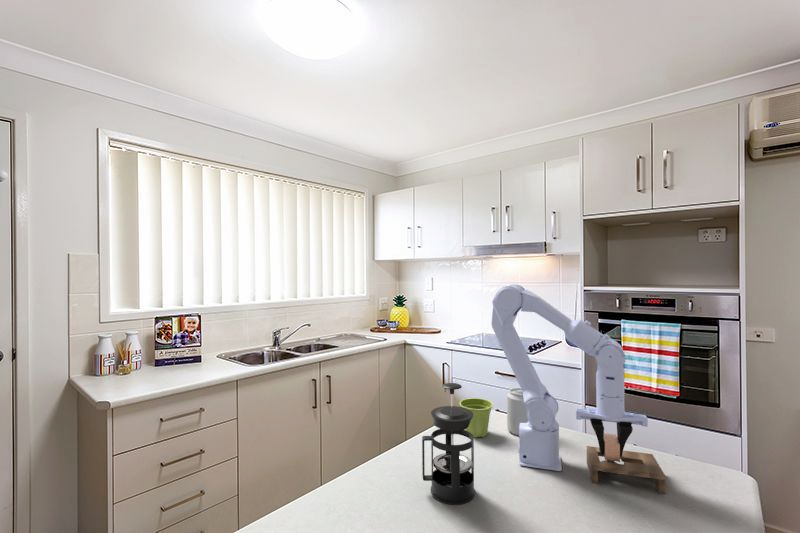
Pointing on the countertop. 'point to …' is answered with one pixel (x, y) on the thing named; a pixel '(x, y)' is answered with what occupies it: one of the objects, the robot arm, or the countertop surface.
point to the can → (516, 410)
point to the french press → (451, 454)
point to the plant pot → (478, 415)
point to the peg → (611, 449)
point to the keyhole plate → (627, 466)
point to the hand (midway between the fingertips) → (610, 453)
